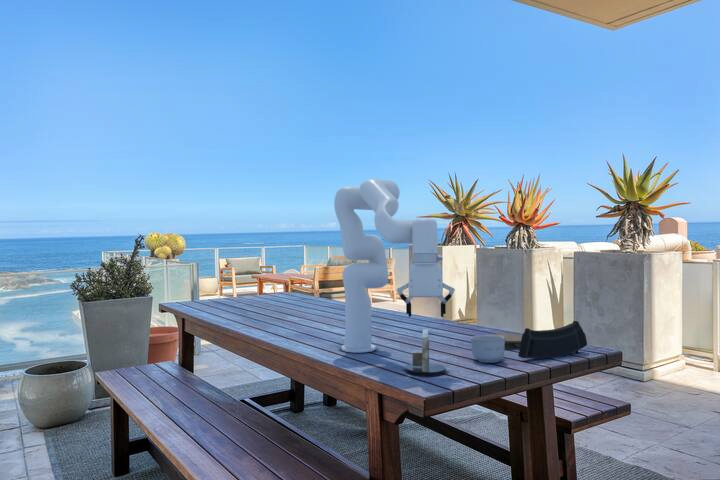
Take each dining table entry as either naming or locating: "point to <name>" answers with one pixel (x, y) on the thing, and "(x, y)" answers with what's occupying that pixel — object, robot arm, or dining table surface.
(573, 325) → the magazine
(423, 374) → the stand
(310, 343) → the dining table surface
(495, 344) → the teacup
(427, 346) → the frame
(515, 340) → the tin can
